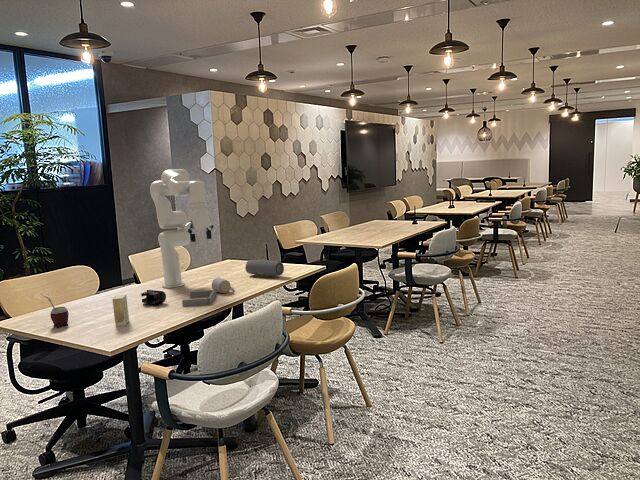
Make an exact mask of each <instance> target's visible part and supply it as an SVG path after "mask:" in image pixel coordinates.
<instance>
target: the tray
mask: <svg viewBox="0 0 640 480" xmlns="http://www.w3.org/2000/svg"><path fill="white" fill-rule="evenodd" d="M216 296H217V293H216V291H215V290H213V289H211V290H210V289H209V290H208V289H207V290H195V291H194V290H193V291H192V290H191V291H189V298H192V299H189V298H188V299H182V300H181V301H182V307H193V306H194V307H195V306H196V307H197V306H207V305H212V302H213V301H214V299H215V297H216ZM207 297H208V298H207Z"/></svg>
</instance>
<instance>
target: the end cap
mask: <svg viewBox="0 0 640 480" xmlns="http://www.w3.org/2000/svg"><path fill="white" fill-rule="evenodd" d="M140 295H141V296H140V297H141V298H142V297H144V298H142V299H141V302H142V305H143V306H146V307H147V306H148V307H158V306H161V305H162V304H164V302H165V301H166V299H167V294H166V292H165V291H163V290H155V289H154V290H153V289H146V291H144V292H142V293H141V294H140Z"/></svg>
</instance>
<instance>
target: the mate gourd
mask: <svg viewBox="0 0 640 480" xmlns="http://www.w3.org/2000/svg"><path fill="white" fill-rule="evenodd" d="M43 298H45V299H47V300H48V302H49V303H50V304H51V306H52V309H51V311H50V320H51V322H52V323H53V327H56V329H59V328H61V327H68V326H69V324H68V323H69V315H70V314H69V310H68V309H67V308H66V306H56V307H55V306H54V304H53V302H52V299H51V298H49V297H48V296H45V295H43Z"/></svg>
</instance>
